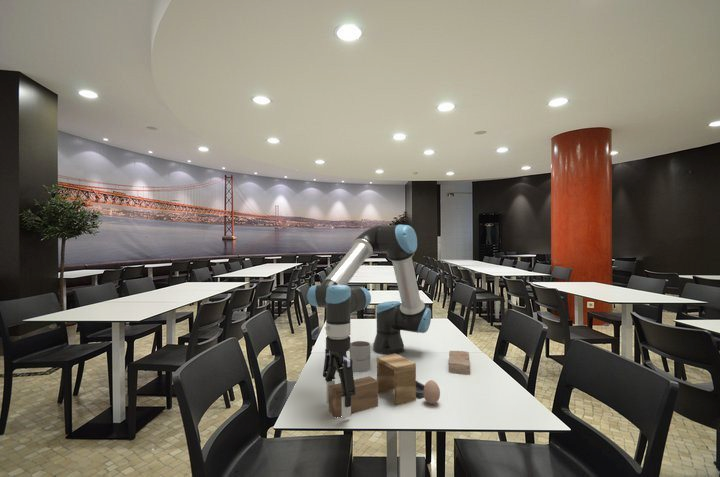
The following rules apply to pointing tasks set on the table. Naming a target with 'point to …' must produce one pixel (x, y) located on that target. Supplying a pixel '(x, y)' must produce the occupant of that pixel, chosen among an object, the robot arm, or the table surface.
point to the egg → (431, 392)
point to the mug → (360, 356)
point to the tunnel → (397, 377)
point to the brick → (459, 362)
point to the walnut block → (354, 396)
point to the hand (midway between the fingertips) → (338, 409)
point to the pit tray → (419, 390)
